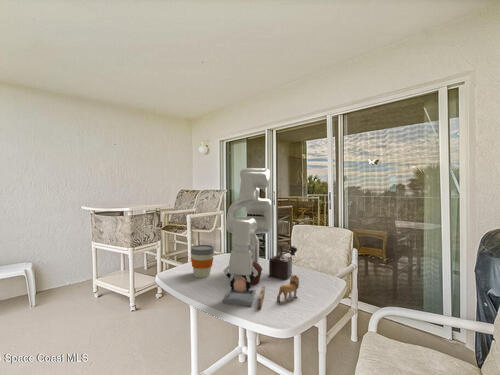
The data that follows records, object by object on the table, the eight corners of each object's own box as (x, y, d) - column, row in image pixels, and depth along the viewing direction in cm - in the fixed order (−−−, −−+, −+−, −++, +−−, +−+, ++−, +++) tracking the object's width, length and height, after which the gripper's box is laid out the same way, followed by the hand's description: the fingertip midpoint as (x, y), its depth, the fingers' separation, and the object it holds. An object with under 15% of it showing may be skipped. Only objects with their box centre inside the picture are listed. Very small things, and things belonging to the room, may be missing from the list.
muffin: (235, 282, 122) (235, 263, 122) (246, 276, 132) (246, 257, 132) (256, 287, 117) (256, 267, 117) (265, 280, 126) (266, 261, 127)
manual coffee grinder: (267, 276, 132) (268, 243, 132) (275, 270, 142) (275, 240, 142) (295, 282, 125) (296, 247, 125) (301, 275, 135) (301, 243, 135)
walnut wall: (261, 294, 109) (262, 286, 109) (264, 295, 109) (264, 286, 109) (258, 308, 96) (258, 298, 96) (261, 309, 96) (261, 299, 96)
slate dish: (230, 291, 112) (230, 287, 112) (255, 293, 110) (255, 289, 110) (223, 303, 100) (223, 299, 100) (251, 306, 98) (251, 301, 98)
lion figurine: (291, 291, 113) (291, 272, 113) (301, 295, 110) (301, 275, 110) (273, 302, 102) (274, 281, 102) (284, 306, 98) (285, 284, 98)
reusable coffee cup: (211, 279, 126) (211, 250, 127) (187, 278, 127) (188, 249, 127) (215, 271, 139) (215, 245, 139) (193, 270, 139) (194, 244, 139)
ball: (235, 288, 108) (235, 274, 108) (248, 289, 107) (248, 275, 107) (231, 293, 102) (232, 279, 102) (245, 294, 101) (246, 280, 101)
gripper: (261, 247, 107) (260, 288, 107) (224, 244, 110) (223, 284, 110) (259, 251, 100) (258, 295, 100) (219, 248, 103) (218, 291, 102)
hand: (240, 289), depth 105 cm, fingers closed on ball, 5 cm apart
